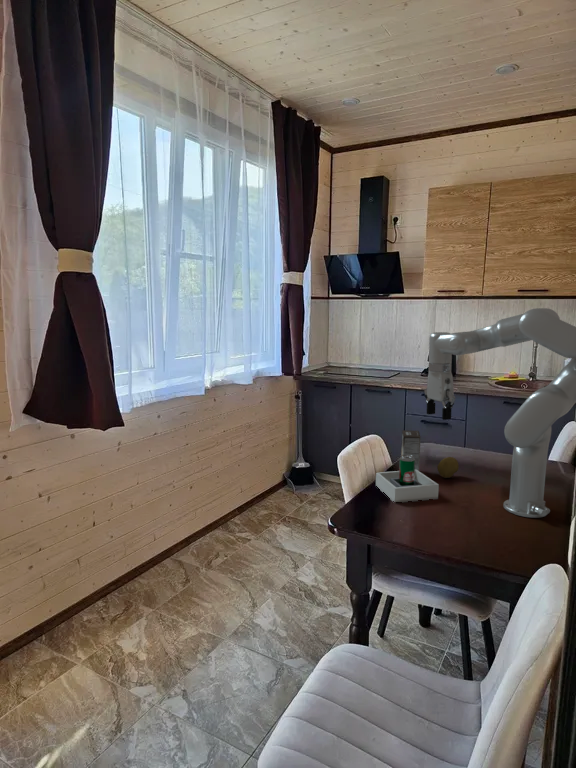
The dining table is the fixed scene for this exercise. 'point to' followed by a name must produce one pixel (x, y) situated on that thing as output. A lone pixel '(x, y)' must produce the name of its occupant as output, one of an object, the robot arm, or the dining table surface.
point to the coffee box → (411, 445)
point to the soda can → (406, 470)
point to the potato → (448, 467)
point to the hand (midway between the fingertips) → (438, 416)
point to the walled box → (407, 487)
